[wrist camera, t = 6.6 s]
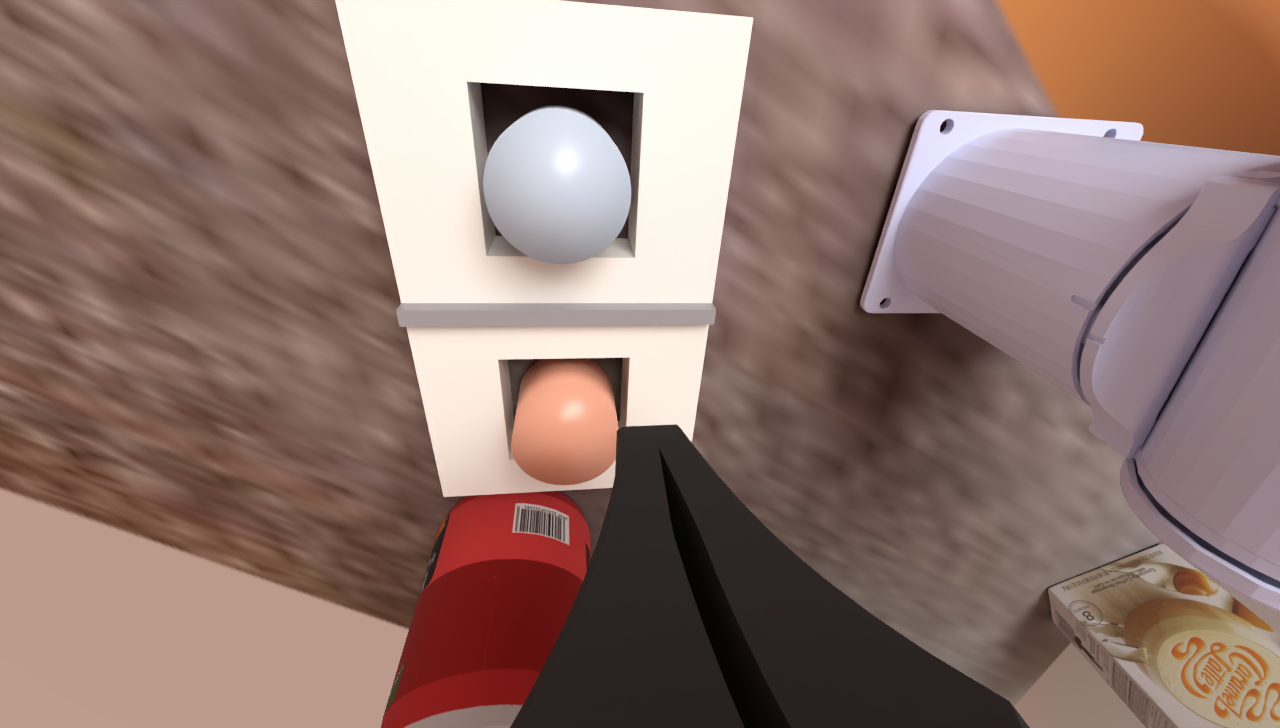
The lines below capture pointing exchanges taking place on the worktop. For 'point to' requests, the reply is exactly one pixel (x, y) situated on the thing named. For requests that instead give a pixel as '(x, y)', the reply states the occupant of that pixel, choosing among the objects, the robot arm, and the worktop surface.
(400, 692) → the canned food
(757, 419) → the worktop surface
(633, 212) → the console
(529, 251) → the pale blue rounded piece
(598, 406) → the orange rounded piece
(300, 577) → the worktop surface
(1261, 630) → the coffee box
